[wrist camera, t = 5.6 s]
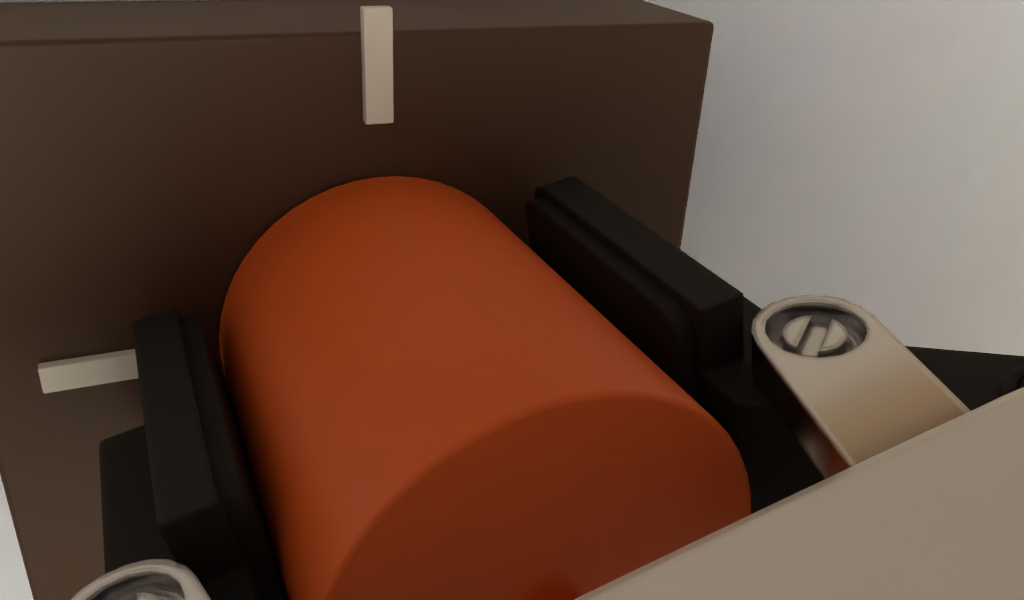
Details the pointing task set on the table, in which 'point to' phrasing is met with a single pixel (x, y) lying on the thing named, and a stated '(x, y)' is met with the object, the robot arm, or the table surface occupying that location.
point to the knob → (454, 410)
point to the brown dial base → (274, 175)
